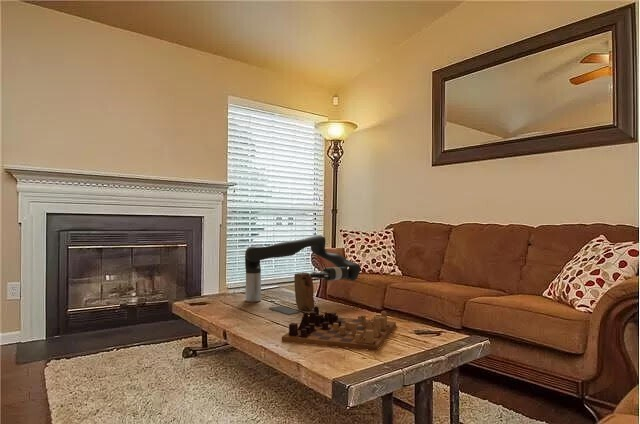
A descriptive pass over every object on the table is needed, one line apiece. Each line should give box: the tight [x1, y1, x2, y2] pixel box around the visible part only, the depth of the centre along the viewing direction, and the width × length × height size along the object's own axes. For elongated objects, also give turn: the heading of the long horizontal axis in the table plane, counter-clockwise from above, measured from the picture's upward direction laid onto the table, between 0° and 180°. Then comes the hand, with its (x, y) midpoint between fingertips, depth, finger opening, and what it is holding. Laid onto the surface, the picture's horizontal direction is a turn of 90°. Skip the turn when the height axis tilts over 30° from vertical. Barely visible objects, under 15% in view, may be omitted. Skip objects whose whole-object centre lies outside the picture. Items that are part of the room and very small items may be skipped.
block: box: [293, 272, 315, 312], centre depth 238 cm, size 11×8×20 cm
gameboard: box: [281, 305, 397, 351], centre depth 190 cm, size 40×40×9 cm
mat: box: [268, 305, 301, 316], centre depth 236 cm, size 20×8×1 cm, turn 37°
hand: (308, 276), depth 240 cm, fingers closed
